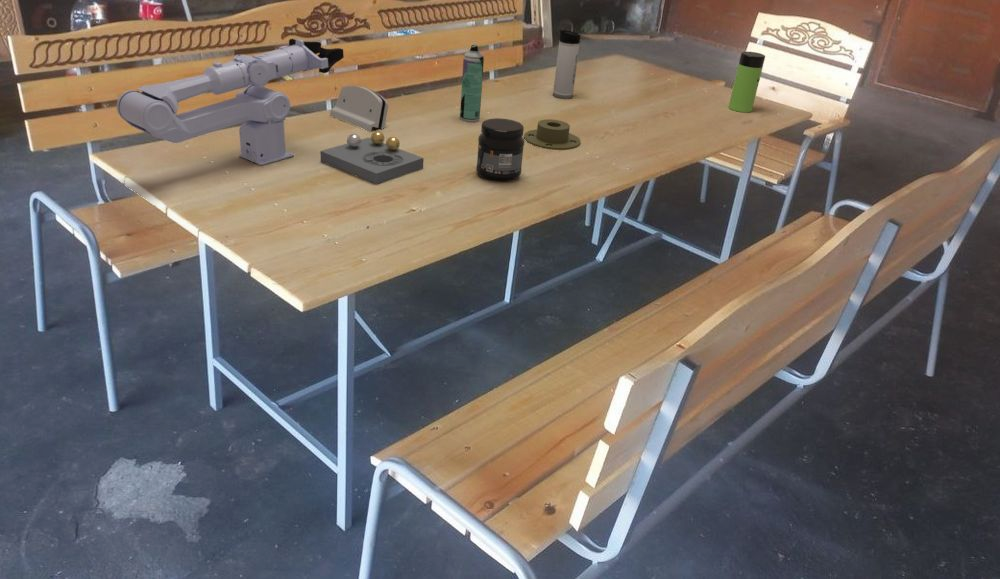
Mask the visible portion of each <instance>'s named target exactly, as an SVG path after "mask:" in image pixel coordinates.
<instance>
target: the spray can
mask: <svg viewBox="0 0 1000 579" xmlns="http://www.w3.org/2000/svg"><path fill="white" fill-rule="evenodd" d="M478 48H479V46H478V45H477V44H471V47H470V49H469V50H468V51H467V52H464V54H463V58H462V60H463V61H462V75H461V76H462V79H461V93H460V94H461V96H460V111H459V120H460V121H462V122H465V123H478V122H479V121H480V118H481V106H482V105H481V104H482V90H483V79H484V78H483V77H484V64H485V63H484V62H485V58H484V57H485V55H484V54H483V53H481V52H480V50H479V49H478Z"/></svg>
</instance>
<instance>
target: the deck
mask: <svg viewBox="0 0 1000 579" xmlns="http://www.w3.org/2000/svg"><path fill="white" fill-rule="evenodd" d="M360 139H361V138H360ZM319 154H320V162H321V161H322V162H321V163H323V162H324V163H323V164H326V165H328V164H329V166H331V167H333V168H336V169H338V170H341V171H343V172H345V173H348V174H351V175H353V176H355V175H356V177H357V176H358V177H357V178H359V179H363V180H365V181H368V182H370V183H373V184H375V185H379V184H381V183H384V182H387V181H390V180H393V179H396V178H399V177H402V176H405V175H408V174H410V173H413V172H416V171H419V170H421V169H423V168H424V157H422V156H420V155H418V154H417V155H416V154H414V153H411V152H409V151H405V150H403V149H400V148H398V149H397V150H395V151H391V150H389V149H388V148H387V147H386V142H383V143H382V144H380V145H375V144H373V143H372V141H371V137H364V138H362V139H361V144H360V145H359V146H358V147H356V148H352V147H350V146H349V145H348V143H344V144H340V145H337V146H333V147H330V148H327V149H322V150H320V152H319Z"/></svg>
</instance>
